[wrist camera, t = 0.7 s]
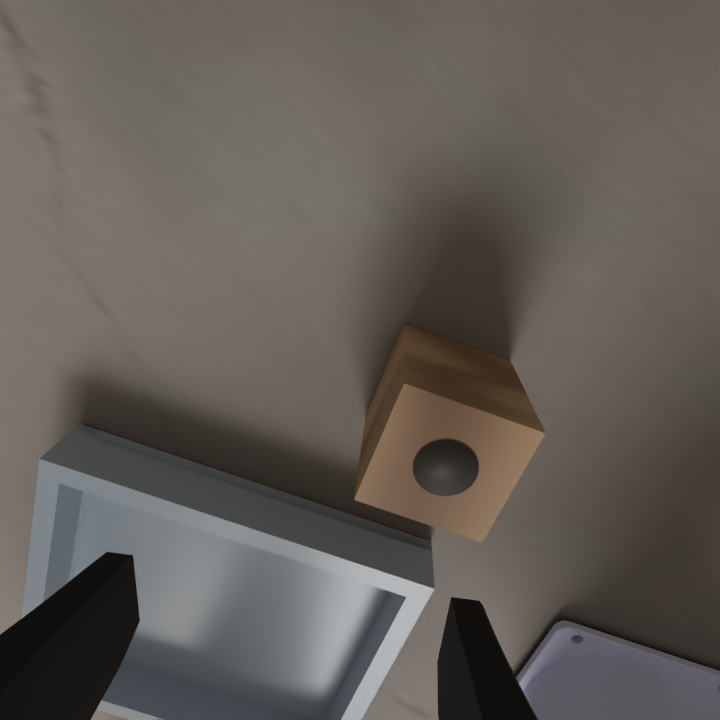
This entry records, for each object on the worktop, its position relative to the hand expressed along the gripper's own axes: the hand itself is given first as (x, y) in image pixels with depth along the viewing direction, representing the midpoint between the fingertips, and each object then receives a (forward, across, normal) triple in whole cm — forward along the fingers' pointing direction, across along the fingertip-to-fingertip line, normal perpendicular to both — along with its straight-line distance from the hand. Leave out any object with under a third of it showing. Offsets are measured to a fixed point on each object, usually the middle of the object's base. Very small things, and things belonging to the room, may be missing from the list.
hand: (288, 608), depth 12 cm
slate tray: (+9, +4, +10) cm, 14 cm away
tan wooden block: (+9, -4, -2) cm, 10 cm away
